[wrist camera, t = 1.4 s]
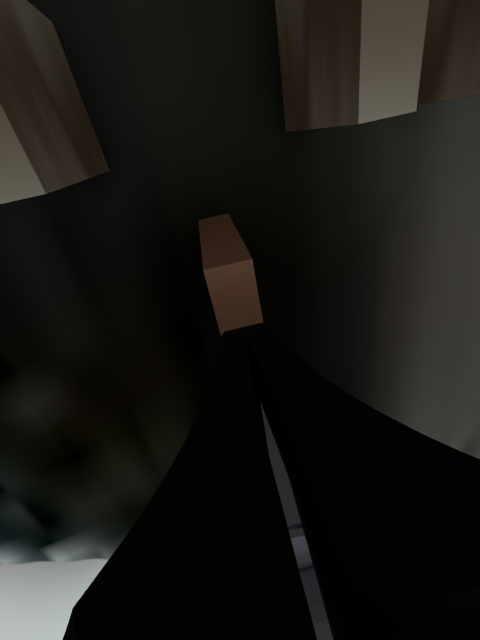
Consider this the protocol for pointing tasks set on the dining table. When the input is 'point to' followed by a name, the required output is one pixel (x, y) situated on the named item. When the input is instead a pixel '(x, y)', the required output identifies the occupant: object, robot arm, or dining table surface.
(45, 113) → the domino
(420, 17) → the domino
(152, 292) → the dining table surface
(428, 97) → the domino
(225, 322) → the terracotta domino
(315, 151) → the dining table surface
